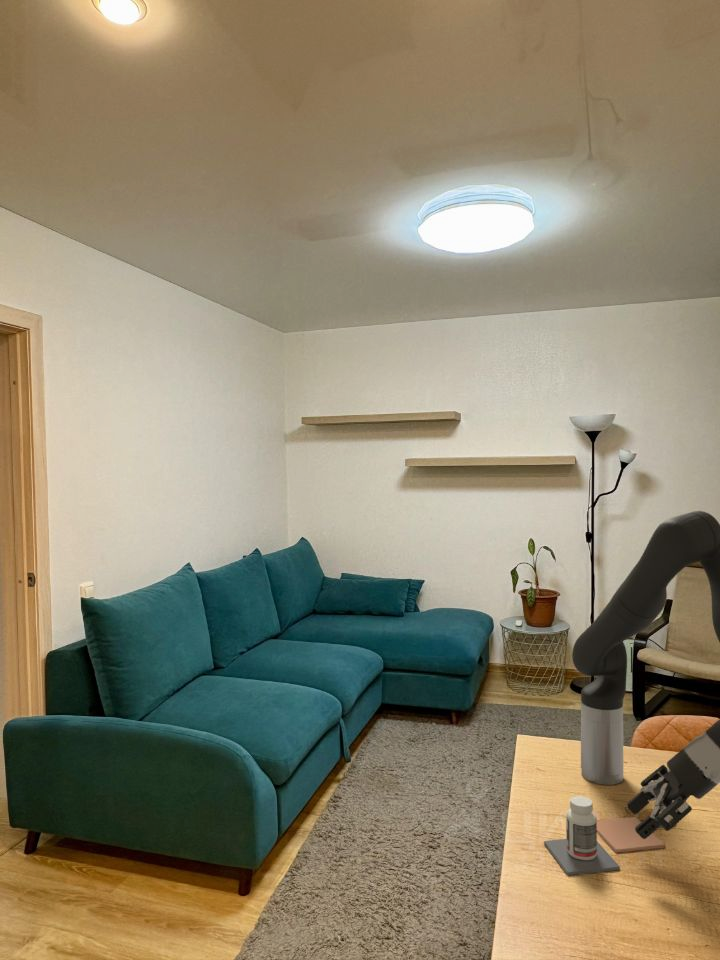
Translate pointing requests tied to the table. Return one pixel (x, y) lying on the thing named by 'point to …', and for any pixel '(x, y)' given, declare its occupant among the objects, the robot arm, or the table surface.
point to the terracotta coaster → (626, 835)
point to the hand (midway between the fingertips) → (634, 821)
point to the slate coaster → (580, 866)
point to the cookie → (640, 814)
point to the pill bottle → (581, 829)
